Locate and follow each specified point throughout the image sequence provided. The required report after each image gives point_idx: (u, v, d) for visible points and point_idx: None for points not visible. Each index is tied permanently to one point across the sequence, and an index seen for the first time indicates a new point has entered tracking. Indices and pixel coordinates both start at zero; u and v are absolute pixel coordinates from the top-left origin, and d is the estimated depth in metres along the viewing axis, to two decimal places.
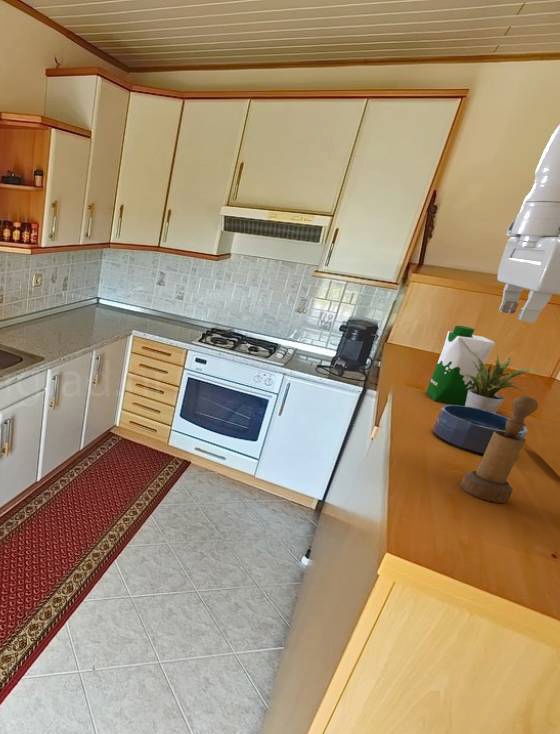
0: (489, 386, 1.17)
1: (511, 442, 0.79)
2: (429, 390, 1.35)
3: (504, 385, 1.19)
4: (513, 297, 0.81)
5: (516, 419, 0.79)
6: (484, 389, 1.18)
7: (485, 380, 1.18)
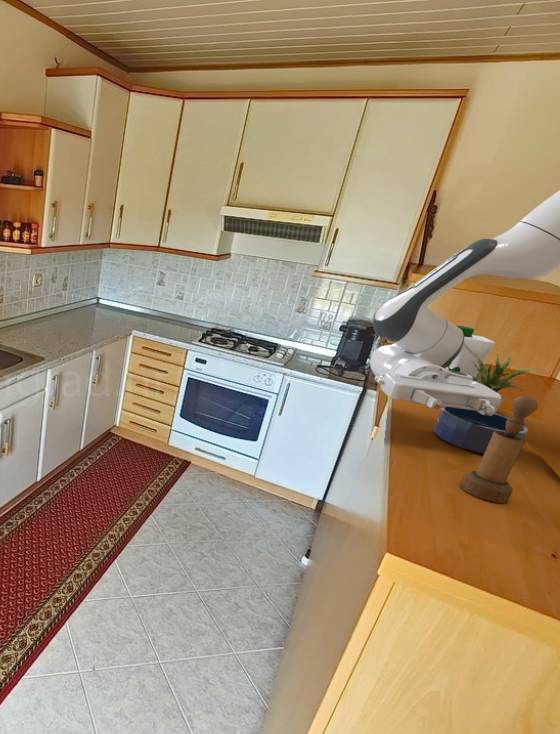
0: (489, 386, 1.17)
1: (511, 442, 0.79)
2: None
3: (504, 385, 1.19)
4: None
5: (516, 419, 0.79)
6: None
7: (485, 380, 1.18)
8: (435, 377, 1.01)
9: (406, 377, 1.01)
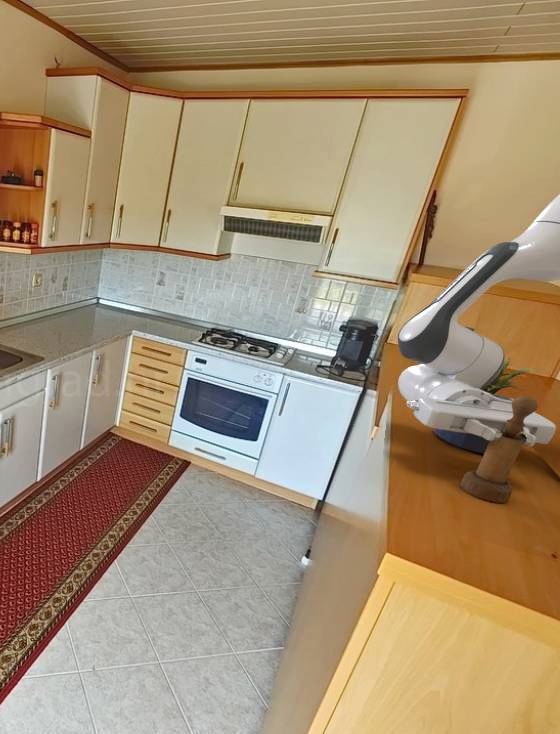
0: (489, 386, 1.17)
1: (511, 442, 0.79)
2: None
3: (504, 385, 1.19)
4: None
5: (516, 419, 0.79)
6: (484, 389, 1.18)
7: None
8: (476, 402, 0.89)
9: (443, 402, 0.90)
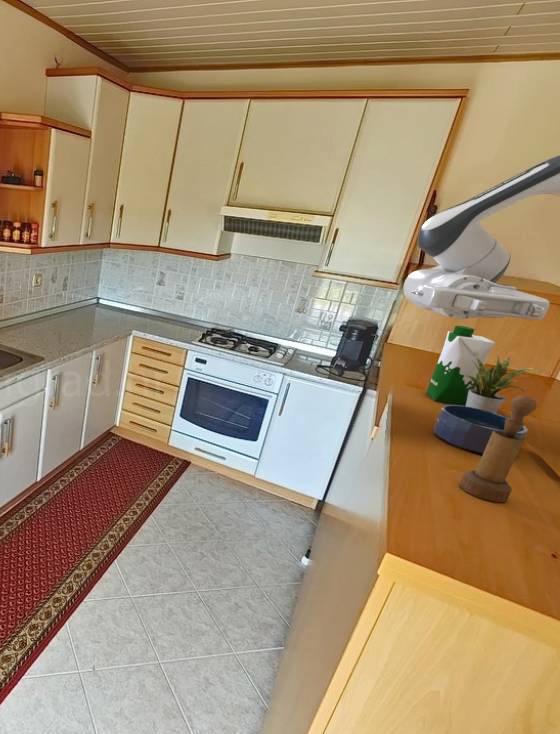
0: (491, 387, 1.17)
1: (510, 441, 0.80)
2: (429, 390, 1.35)
3: (504, 385, 1.19)
4: None
5: (515, 418, 0.80)
6: (486, 390, 1.18)
7: (487, 381, 1.18)
8: (476, 287, 0.97)
9: (446, 287, 0.97)
